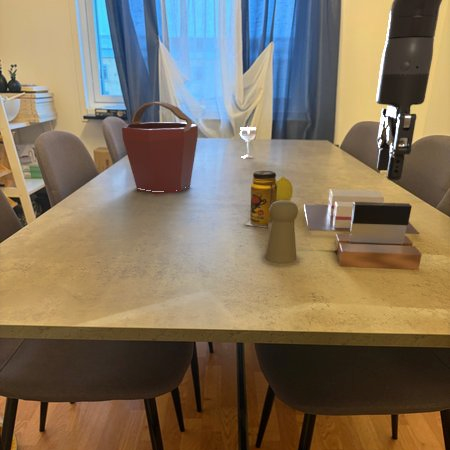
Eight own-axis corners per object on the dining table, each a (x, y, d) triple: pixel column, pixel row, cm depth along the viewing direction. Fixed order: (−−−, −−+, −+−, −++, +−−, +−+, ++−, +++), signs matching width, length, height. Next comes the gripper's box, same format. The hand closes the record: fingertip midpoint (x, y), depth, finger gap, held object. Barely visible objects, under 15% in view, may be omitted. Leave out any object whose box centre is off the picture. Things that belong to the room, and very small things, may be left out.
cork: (274, 265, 81) (278, 207, 76) (259, 254, 86) (262, 199, 81) (302, 260, 83) (307, 203, 78) (286, 250, 88) (289, 196, 83)
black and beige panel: (398, 257, 84) (409, 203, 80) (401, 260, 83) (411, 206, 78) (346, 254, 85) (353, 201, 81) (347, 258, 84) (355, 204, 79)
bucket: (210, 191, 133) (209, 102, 122) (143, 201, 123) (135, 105, 112) (176, 177, 152) (172, 99, 141) (115, 184, 142) (105, 101, 130)
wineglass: (243, 158, 187) (244, 129, 181) (237, 156, 192) (237, 127, 187) (257, 157, 189) (258, 128, 184) (251, 155, 195) (252, 127, 189)
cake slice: (385, 224, 100) (389, 203, 98) (389, 229, 96) (393, 207, 94) (332, 222, 101) (334, 201, 99) (334, 227, 98) (336, 206, 95)
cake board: (395, 210, 114) (396, 207, 113) (419, 238, 94) (419, 233, 94) (303, 208, 116) (303, 204, 116) (307, 234, 97) (308, 229, 96)
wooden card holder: (404, 249, 88) (407, 235, 87) (418, 269, 79) (421, 254, 77) (334, 247, 89) (335, 233, 88) (340, 266, 80) (342, 251, 79)
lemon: (295, 207, 117) (297, 177, 113) (280, 210, 114) (281, 179, 111) (282, 202, 121) (284, 173, 117) (266, 205, 118) (268, 176, 115)
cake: (375, 209, 111) (378, 190, 108) (381, 217, 105) (384, 197, 102) (327, 208, 112) (329, 189, 110) (330, 216, 106) (332, 195, 104)
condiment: (244, 225, 103) (244, 173, 97) (256, 215, 110) (258, 167, 104) (272, 229, 100) (275, 176, 95) (284, 219, 107) (287, 169, 101)
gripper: (443, 71, 63) (421, 183, 70) (416, 71, 75) (400, 167, 83) (390, 71, 63) (373, 183, 71) (372, 72, 76) (359, 167, 83)
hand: (387, 174), depth 77 cm, fingers open, 8 cm apart
